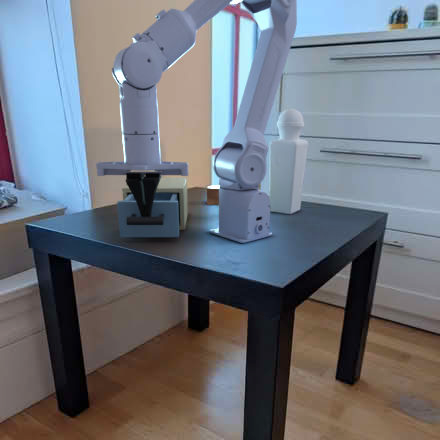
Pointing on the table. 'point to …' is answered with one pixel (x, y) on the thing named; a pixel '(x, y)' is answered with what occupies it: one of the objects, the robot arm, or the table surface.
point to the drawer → (150, 226)
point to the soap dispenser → (287, 164)
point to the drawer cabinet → (171, 186)
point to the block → (212, 195)
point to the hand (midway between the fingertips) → (146, 219)
